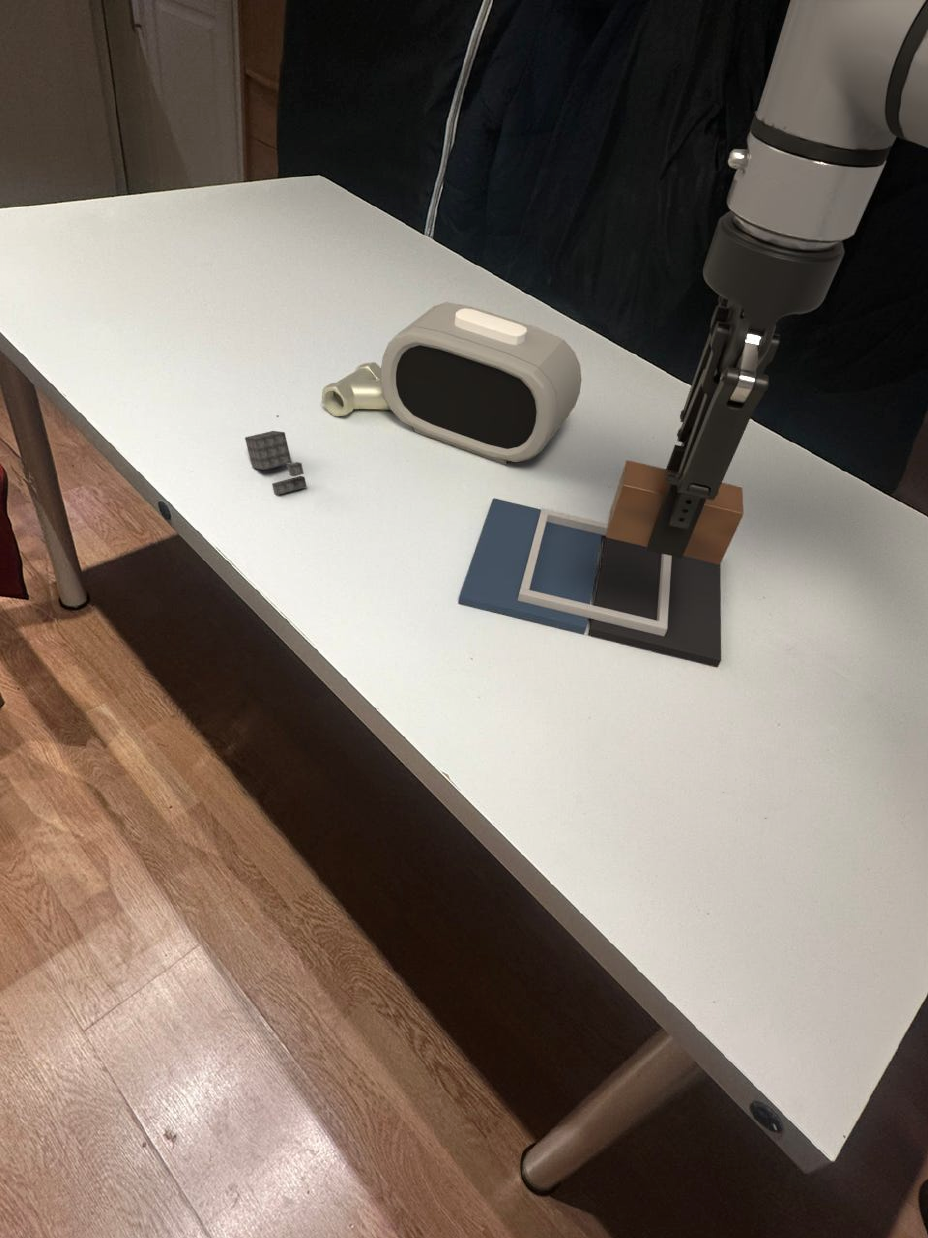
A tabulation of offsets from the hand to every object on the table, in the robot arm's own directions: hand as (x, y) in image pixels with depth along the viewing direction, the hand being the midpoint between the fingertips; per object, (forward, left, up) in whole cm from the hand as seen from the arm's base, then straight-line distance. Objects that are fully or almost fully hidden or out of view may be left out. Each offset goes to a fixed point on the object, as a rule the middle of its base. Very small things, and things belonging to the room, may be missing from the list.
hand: (665, 534), depth 65 cm
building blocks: (+37, -13, -13) cm, 42 cm away
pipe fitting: (+33, -30, -13) cm, 47 cm away
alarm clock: (+20, -29, -13) cm, 38 cm away
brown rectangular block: (0, 0, 0) cm, 0 cm away
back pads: (+3, -9, -13) cm, 16 cm away
